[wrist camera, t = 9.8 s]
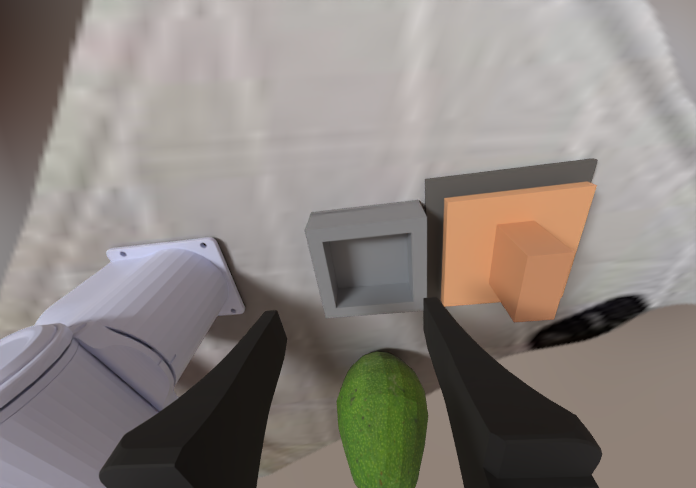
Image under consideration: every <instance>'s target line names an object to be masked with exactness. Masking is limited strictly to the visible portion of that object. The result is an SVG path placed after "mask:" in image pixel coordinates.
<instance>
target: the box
mask: <svg viewBox="0 0 696 488" xmlns="http://www.w3.org/2000/svg"><path fill="white" fill-rule="evenodd" d="M305 234H306V238H307V242H308V247H309V251H310V255H311V259H312V263H313V267H314V271H315V276H316V280H317V284H318V288H319V292H320V296H321V300H322V305H323V309H324V313H325V317H326V318H337V317H349V316H362V315H375V314H387V313H400V312H413V311H423V298H427V216H426V214H425V212H424V210H423V208H422V206H421V204H420V202H419V201H418V200H414V201H405V202H397V203H388V204H380V205H371V206H362V207H354V208H345V209H337V210H328V211H319V212H311V214H310V217H309V220H308V223H307V225H306V228H305Z"/></svg>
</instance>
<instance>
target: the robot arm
mask: <svg viewBox="0 0 696 488" xmlns="http://www.w3.org/2000/svg"><path fill="white" fill-rule="evenodd" d="M203 243H205V244H206V245H207V246H205V245H204V244H203ZM124 252H125V253H126V254H125V253H124ZM106 255H107V257H108V258H109V260H110V261H111V262H110V263H109V264H108V265H106V266H105V267H103V268H102V269H101V270H99V271H98V272H97V273H95V274H94V275H92V276H91V277H90V278H88V279H87V280H86V281H84V282H83V283H81V284H80V285H79V286H77V287H76V288H74V289H73V290H72V291H70V292H69V293H68V294H66V295H65V296H63V297H62V298H61V299H59V300H58V301H57V302H55V303H54V304H52V305H51V306H50V307H49V308H48V309H46V310H45V311H44V312H43V313H42V315H41V316H40V317H39V319H38V320H37V322H36V323H35V325H34V326H31V327H27V328H24V329H22V330H19V331H17V332H15V333H12V334H10V335H8V336H6V337H4V338H2V339H0V488H256V486H257V479H258V472H259V465H260V459H261V453H262V447H263V441H264V435H265V430H266V424H267V419H268V414H269V410H270V406H271V402H272V399H273V395H274V392H275V388H276V385H277V382H278V378H279V375H280V371H281V368H282V364H283V361H284V356H285V350H286V343H287V337H286V334H285V331H284V328H283V326H282V323H281V320H280V317H279V314H278V311H277V310H275V311H265V312H264V314H263V315H262V316H261V317H260V318H259V319H258V321H257V322H256V323H255V324H254V325H253V326H252V328H251V329H250V330H249V331H248V332H247V334H246V335H245V336H244V337H243V338H242V339H241V340H240V342H239V343H238V344H237V345H236V346H235V347H234V348H233V349H232V350H231V351H230V352H229V353H228V355H227V356H226V357H225V358H224V359H223V360H222V361H221V362H220V363H219V364H218V365H217V366H216V367H215V368H214V369H213V370H211V371H210V372H209V373H208V374H207V375H206V376H205V377H204V378H203V379H201V380H200V381H199V382H198V383H197V384H195V385H194V386H193V387H192V388H190V389H189V390H188V391H187V392H186V393H184V394H183V395H182V396H181V397H178V396H177V395H176V393H175V392H174V387H175V385H176V384H177V382H178V380H179V379H180V377H181V375H182V374H183V372H184V370H185V369H186V367H187V365H188V364H189V362H190V360H191V359H192V357H193V355H194V354H195V352H196V350H197V349H198V347H199V345H200V344H201V342H202V340H203V339H204V337H205V336H206V334H207V332H208V331H209V329H210V327H211V326H212V324H213V322H214V321H215V319H216V317H217V316H223V315H235V314H242V313H244V311H245V306H244V304H243V302H242V299H241V297H240V295H239V292H238V290H237V288H236V285H235V283H234V280H233V278H232V276H231V273H230V271H229V269H228V266H227V264H226V262H225V259H224V257H223V254H222V252H221V250H220V247H219V245H218V243H217V241H216V240H215V239H214V238H211V237H208V238H199V239H190V240H181V241H172V242H163V243H154V244H145V245H136V246H127V247H118V248H111V249H109V250H108V251H107V252H106ZM234 309H235V310H234ZM423 319H424V333H425V338H426V343H427V347H428V351H429V354H430V357H431V360H432V363H433V366H434V369H435V372H436V375H437V378H438V381H439V384H440V387H441V390H442V393H443V397H444V400H445V403H446V408H447V412H448V416H449V420H450V424H451V429H452V433H453V438H454V442H455V447H456V451H457V455H458V460H459V465H460V470H461V474H462V479H463V484H464V488H599V487H598V485H597V483H596V482H595V480H594V478H593V476H592V473H593V471H594V470H595V469H596V467H597V465H598V464H599V462H600V460H601V457H602V452H601V448H600V447H599V445H598V444H597V442H596V441H595V439H594V438H593V436H592V435H591V434H590V432H589V431H588V430H587V428H586V427H585V426H584V424H583V423H582V422H581V421H580V420H579V418H578V417H577V416H576V415H575V414H572V413H571V412H570V411H568V410H566V409H565V408H563V407H561V406H559V405H558V404H556V403H554V402H553V401H551V400H549V399H548V398H546V397H545V396H543V395H542V394H540V393H539V392H537V391H536V390H534V389H532V388H531V387H530V386H528V385H527V384H526V383H524V382H523V381H521V380H520V379H519V378H517V377H516V376H515V375H513V374H512V373H510V372H509V371H508V370H507V369H505V368H504V367H503V366H502V365H501V364H499V363H498V362H497V361H496V360H495V359H493V358H492V357H491V356H490V355H489V354H488V353H487V352H486V351H484V350H483V349H482V348H481V347H480V346H479V345H478V344H477V343H476V342H475V341H474V340H473V339H472V338H471V337H470V336H469V335H468V334H467V333H466V332H465V330H464V329H463V328H462V327H461V326H460V325H459V324H458V323H457V322H456V320H455V319H454V318H453V317H452V316H451V314H450V313H449V312H448V311H447V309H446V308H445V307H444V305H443V304H442V303H441V301H440V300H439V299H438V298H437V297H431V298H423Z"/></svg>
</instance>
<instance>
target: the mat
mask: <svg viewBox="0 0 696 488" xmlns="http://www.w3.org/2000/svg"><path fill="white" fill-rule="evenodd" d="M597 161H598V160H597V159H585V160H577V161H568V162H560V163H552V164H544V165H536V166H528V167H520V168H512V169H503V170H495V171H487V172H479V173H471V174H463V175H455V176H447V177H438V178H430V179H425V214H426V216H427V298H431V297H437V298H438V299H439V300H440V301H441V285H442V255H443V226H444V198H450V197H458V196H467V195H475V194H484V193H493V192H501V191H510V190H519V189H527V188H536V187H544V186H553V185H562V184H570V183H579V182H590V183H591V181H592V177H593V174H594V171H595V167H596V164H597Z"/></svg>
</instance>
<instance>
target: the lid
mask: <svg viewBox="0 0 696 488" xmlns="http://www.w3.org/2000/svg"><path fill="white" fill-rule="evenodd" d="M596 186H597V185H595V184H592V183H590V182H579V183H570V184H562V185H553V186H544V187H536V188H527V189H519V190H510V191H501V192H493V193H484V194H475V195H467V196H458V197H450V198H444V226H443V255H442V285H441V301H442V304H443V305H444V307H445V306H457V305H470V304H482V303H495V302H501V303H502V305H503V306H504V308H505V309H506V311H507V312H508V314H509V315H510V317H511V318H512V320H513V322H525V321H539V320H553V319H554V318H555V314H556V311H557V308H558V305H559V301H560V298H561V297H562V296H563V293H564V290H565V286H566V283H567V280H568V277H569V273H570V270H571V267H572V264H573V261H574V257H575V254H576V251H577V248H578V244H579V241H580V238H581V235H582V232H583V228H584V225H585V222H586V219H587V215H588V212H589V209H590V206H591V203H592V199H593V196H594V193H595V190H596Z"/></svg>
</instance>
